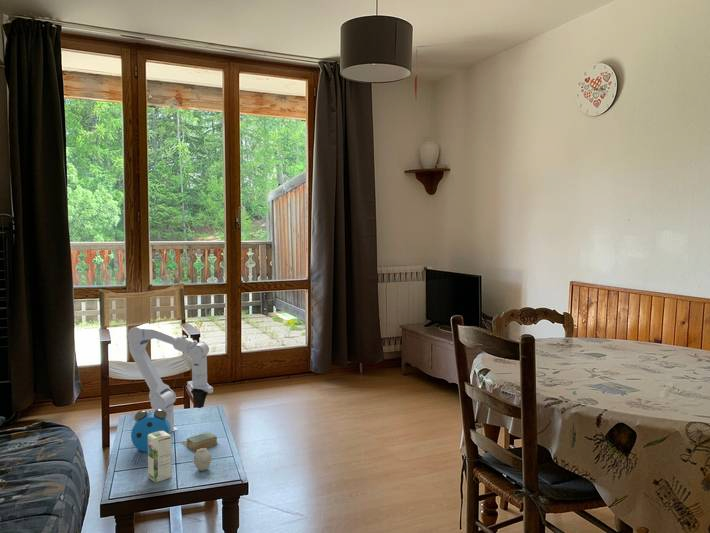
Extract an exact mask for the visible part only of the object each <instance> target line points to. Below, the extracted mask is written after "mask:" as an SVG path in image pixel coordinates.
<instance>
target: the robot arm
mask: <svg viewBox="0 0 710 533" xmlns="http://www.w3.org/2000/svg"><path fill="white" fill-rule="evenodd" d="M153 339H154V340H155V339H156V340H158V341H160V342H164V343H166V344H169V345H172V346H173V349H174V350H177V351H179V352H181V353H184V354H186V355H188V356H189V358H190V359H191V379H192V380H189V381H187V382H186V385H187V388H190V389H192V390H190V393H191V395H192V396H193V398H194V401H195V404H196V408H197V409H201V408H204V407H205V406H204V405H205V402H206V399H207V396H208V394H212V393H214V387H213V386H211V385H210V384H209V383H208V358H207V357H208V354H209V352H210V351H209V350H210V346H209V345H208V344H207V343H206V342H204V341H199V342H198V340H193V339H190V338H189V337H187V335H185V334H184V335H179V336H176V335H173V334H171V333H169V332H167V331H165V330H163V329H161V328H159V327H157V325H154V324H150V323H147V322H146V323H142V324H140V325H136V326H133V327H131V328H130V329H129V330H128V332H127V335H126V340H127V341H128V347H129V348H128V349H129V352H130V355H131V357H132V359H133V360H134V362H135V364H136V366H137V369H138V370H139V371H140V374H141V376H142V377H143V379H144V381H145V383H146V385H147V386H148V388H149V394H148V398H149V401H150V407H151V408H152V410H151V411H152V412H155V410H157V409H163V410H165V411H166V413H167V419H168V420H169V422H170V426H171V432H170V433H172V432H176V431H178V430H179V429H178V428H176V427H175V422H174V421H175V419H174V418H175V417H174V415H175V414H174V403H175V402H176V401H177V395H176V393H175V391H174V390H173V389H171V388H170V386H169V385H168V384H167V383H164V382H163V380H162V378H161V376H160V374H159V372H158V370H157V369H156V367H155V365H154V363H153V360H152V359H151V356H149V353H148V351H147V349H146V348H147V345H148V343H149V341H150V340H153Z"/></svg>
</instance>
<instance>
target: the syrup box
mask: <svg viewBox="0 0 710 533" xmlns="http://www.w3.org/2000/svg"><path fill="white" fill-rule="evenodd" d="M147 473H148V474H147V475H148V479H150V480H151V481H153V483H159V482H162V481H165V480H167V479H171V478H172V475H173V474H172V435H171V434H170V435H169V434H168V433H166V432H165V431H158V432H154V433H151V434H148V452H147Z"/></svg>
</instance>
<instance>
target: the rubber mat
mask: <svg viewBox="0 0 710 533" xmlns="http://www.w3.org/2000/svg"><path fill="white" fill-rule="evenodd" d="M180 444H181V445H183V446H184V447H185V448H187V449H188V450H190V451H191V452H192V453H196V451H197V450H195V451H194V450H192V449H191V448H189V447H188V446H187V440H185V441H180ZM219 445H220V443H218V442H217V444H216V445H213V446H209V447H206V448H207V449H210V448H211V447H216V446H219Z"/></svg>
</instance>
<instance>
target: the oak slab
mask: <svg viewBox="0 0 710 533" xmlns="http://www.w3.org/2000/svg"><path fill="white" fill-rule="evenodd" d="M186 441H187V446H188V447H189V448H191V449H192V450H194V451H195V450H198V449H201V448H206V447H209V446H213V445H216V444H217V443H218V437H217V435H215V434H213V433H212V432H210V431H208V432H204V433H200V434H196V435H192V436H190V437H186ZM216 446H217V445H216ZM213 447H214V446H213ZM209 448H210V447H209Z"/></svg>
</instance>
